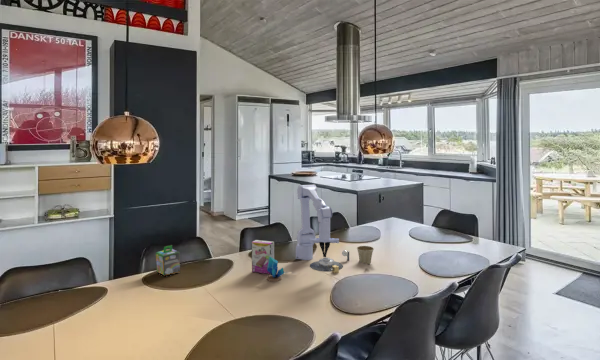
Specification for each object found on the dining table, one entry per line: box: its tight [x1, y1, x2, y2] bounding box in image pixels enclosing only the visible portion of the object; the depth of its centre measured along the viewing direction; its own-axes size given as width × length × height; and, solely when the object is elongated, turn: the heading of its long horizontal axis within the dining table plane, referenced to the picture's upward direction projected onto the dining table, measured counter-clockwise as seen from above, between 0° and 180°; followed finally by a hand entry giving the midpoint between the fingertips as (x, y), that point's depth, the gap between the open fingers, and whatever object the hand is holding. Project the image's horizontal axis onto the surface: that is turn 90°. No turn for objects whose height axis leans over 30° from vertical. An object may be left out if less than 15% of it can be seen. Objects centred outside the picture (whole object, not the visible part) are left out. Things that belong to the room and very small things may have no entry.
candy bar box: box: [251, 239, 275, 275], centre depth 193 cm, size 11×5×16 cm, turn 71°
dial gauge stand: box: [341, 249, 350, 261], centre depth 209 cm, size 5×4×7 cm
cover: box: [318, 256, 335, 268], centre depth 199 cm, size 8×8×4 cm
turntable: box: [309, 260, 344, 274], centre depth 198 cm, size 18×21×4 cm
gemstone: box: [266, 257, 284, 282], centre depth 183 cm, size 7×9×12 cm
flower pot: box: [356, 245, 375, 265], centre depth 206 cm, size 9×9×9 cm
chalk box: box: [155, 244, 181, 275], centre depth 193 cm, size 9×9×15 cm
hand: (324, 256), depth 189 cm, fingers closed
